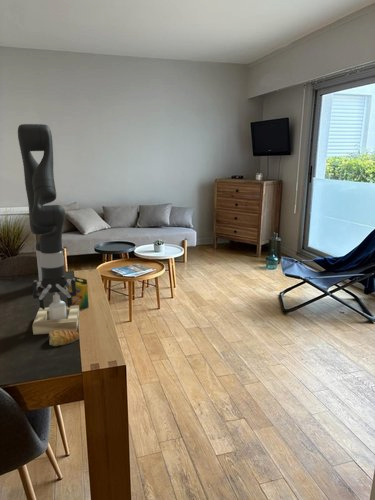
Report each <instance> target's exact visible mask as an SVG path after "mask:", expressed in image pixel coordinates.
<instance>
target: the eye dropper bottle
mask: <svg viewBox="0 0 375 500" xmlns="http://www.w3.org/2000/svg"><path fill="white" fill-rule="evenodd" d="M58 293H59V292H54V294H53V295H52V301H51V303H50V304H49V305H48V307H49V315H50V320H55V319H68V318H67V314H66V306H67V304H66V302H65V301H63V300H61V294H58Z"/></svg>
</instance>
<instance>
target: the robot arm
mask: <svg viewBox="0 0 375 500" xmlns="http://www.w3.org/2000/svg"><path fill="white" fill-rule="evenodd" d="M17 139H18V145H19V149H20V154H21V160H22V166H23V172H24V173H23V175H24V184H25V193H26V197H27V201H28V204H27V205H28V216H29V217H28V218H29V227H30V232H31V233H32V234H33V235H39V238H38V239H39V241H38V242H36V243H35V252H36V260H37V261H36V263H37V270H38V272H37V273H38V279H34V280H33V282H32V298H33V299H38V300H39V308H42V310H43V309H45V308H46V300H45V299H46V298H45V296H46V295H47V293H50V294H52V293H55V292H57V293H60V292H61V293H62V294H63V295H65V296H66V302H67V306H68V308H69V307H70V306H72V296H76V294H77V289H76V282H75V278H73V277H71V278H67V277H66V267H65V257H64V253H63V241H62V240H63V238H62V236H63V229H64V225H65V220H66V211H65V208H64V207H63V206H61V205H59V204H52V205H51V204H50V203H53V202H55V200H56V199H57V190H56V185H55V175H54V147H53V144H54V143H53V135H52V130H51V127H50V126H49V125H47V124H42V123H40V124H39V123H24V124H23V123H22V124H19V126H18V127H17ZM32 152H43V156H42V158H41V161H40V162H38V161H37V160H36V158H34V156H33V153H32ZM46 204H47V205H46ZM48 204H50V205H48ZM67 284H68V286H69V285H71V286H72V292H70V291H69V287H67V286H66V285H67ZM39 287H40V288H41V289H43V290H42V291H41V293H39Z"/></svg>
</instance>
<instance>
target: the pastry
mask: <svg viewBox="0 0 375 500" xmlns="http://www.w3.org/2000/svg"><path fill="white" fill-rule="evenodd" d="M48 338H49V340H48V341H49V344H48V345H50V346H53V347H59V346H66V345H68V344H69V345H70V344H71V343H74V342H76V341H77V340H79V339H80V334H79V331H78V330H77V331H72V330H62V329H60V330H54V332H49V333H48Z"/></svg>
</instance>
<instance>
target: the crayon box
mask: <svg viewBox="0 0 375 500" xmlns="http://www.w3.org/2000/svg"><path fill="white" fill-rule="evenodd" d="M72 278H75V282H76V289H77V294H76V296H72V306H76V305H79V309H83V310H85V309H88V308H89V287H88V286H89V285H88V279H85V278H82V277H77V276H73V277H72ZM80 280H81V281H80ZM68 290H69V291H70V292H72V286H71V285H69V284H68Z"/></svg>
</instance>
